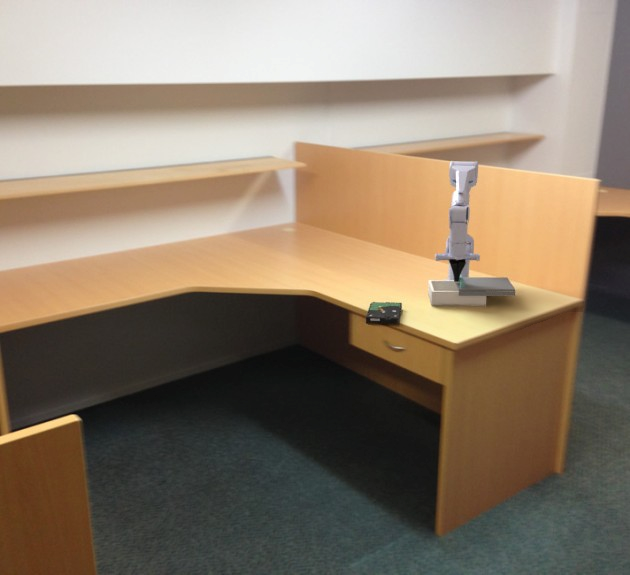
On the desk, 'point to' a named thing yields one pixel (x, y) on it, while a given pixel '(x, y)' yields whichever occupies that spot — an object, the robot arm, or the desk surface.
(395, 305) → the disk drive
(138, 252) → the desk surface
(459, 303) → the box
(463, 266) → the robot arm
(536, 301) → the desk surface
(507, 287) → the lid
